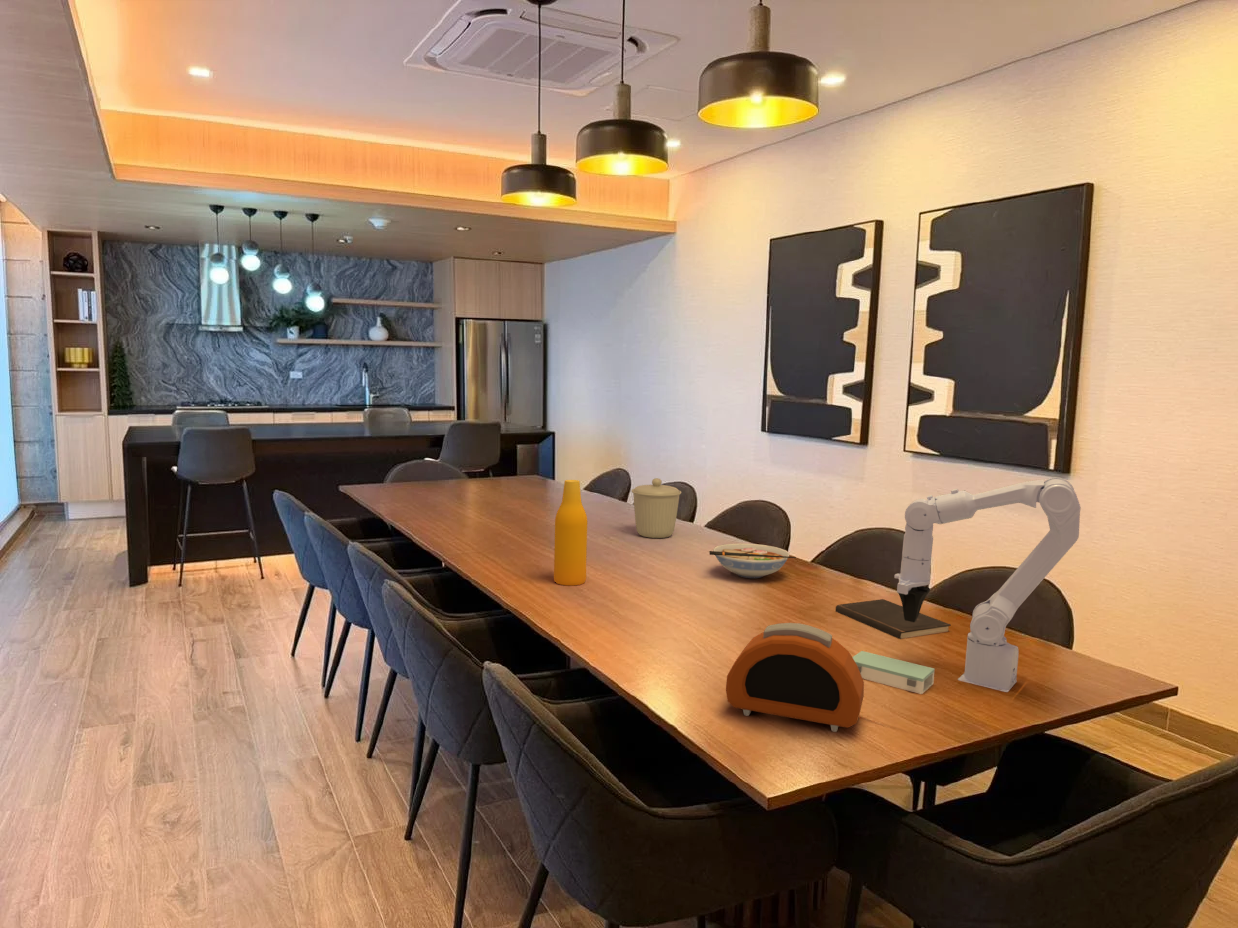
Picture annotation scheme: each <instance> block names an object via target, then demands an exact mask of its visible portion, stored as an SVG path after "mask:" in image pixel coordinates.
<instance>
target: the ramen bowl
mask: <svg viewBox="0 0 1238 928" xmlns="http://www.w3.org/2000/svg"><path fill="white" fill-rule="evenodd" d="M708 553H709V556H715V557H716V559H717V561H718V562H719V564H720V565H721V566H722V567H723V568H725V570H727V571H729V572H732V573H733V574H736V575H737V576H739V577H740V578H744V579H760V578H762V577H765V576H768V575H771V574H773V573H776V572H778V571H780V569H781V568H782V567H784V565H785V564H786V562H787V560H788V559H797V557H796V556H790V554H791V553H790V552H788V551H787V550H786V549H783V548H780V547H776V546H773V545H772V546H771V545H765V544H757V543H743V542H742V543H739V542H737V543H724V544H721V545H720V544H719V545H717V546H715V547H713V548H712V550H710V551H708Z"/></svg>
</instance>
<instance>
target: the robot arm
mask: <svg viewBox="0 0 1238 928" xmlns="http://www.w3.org/2000/svg"><path fill="white" fill-rule="evenodd" d="M950 492H951V493H950ZM950 492H949V493H945V494H942V495H936V496H933V495H932V494H931V495H927V496H926V499H924V498H918V499H915V500H913V501H912V502H911V503H909V504H908V506H907V507H906V509H905V511H904V520H905V522H906V524H905V527H904V530H905V531H904V532H905V533H904V534H903V542H902V553H901V563H900V572H899V573H895V574H894V578H893V579H898V583H897V586H896V593H898V595H899V598H900V601H901V606H902V607H903V614H904V619H905V620H906V621H910V622H915V621H916V620H917V618H918V615H919V613H921V609H922V606H923V603H924V601H925V599H926V598H927V596H928V594H929V593H930V591H931V588H930V587H928V585H930V584H931V566H932V565H931V564H932V554H933V553H932V552H933V544H934V535H933V534H934V533H933V531H934V524H937V525H944V524H949V523H953V522H958V521H964V520H967V519H972V518H973V517H974V516H975V514H976V513H977V512H978V511H981V510H985V509H991V508H992V509H993V508H996V507H1002V506H1008V505H1014V504H1023V505H1025V506H1028V507H1032V508H1035V509H1036V508H1037V503H1039V505H1040V508H1042V511H1043V512H1044V513H1045V515H1046V516H1047V522H1048V526H1049V531H1048V532H1047V533H1046V535H1044V537H1043V538H1042V539H1040V541H1039V542H1038V544H1037V545H1036V546H1035V547H1034V549H1032V551H1030V553H1029V554H1028V555H1027V557H1026V558H1025V559H1024V560H1023V561H1022V562H1021V564H1020V565H1019V566H1018V567H1017V568H1016V569H1015V570H1014V572H1013V573H1012V574H1011V575H1010V576H1009V578H1007V580H1006V581H1005V582H1004V583H1003V584H1002V586H1001V587H1000V588H999V589H998V590H996V592H994V593H993V594H992V595H991V596H990V597H989V598H987V600H986V601H982V602H980V603H978V604H977V605H976V606H975V607H974V609H973V611H972V619H971V621H970V625H969V628H970V632H968V633H967V637H966V639H967V641H966V652H965V664H964V665H965V666H964V673H963V674H962V675H960V677H958V678H957V680H958V681H960V682H964V683H968V684H973V685H976V686H981V687H984V688H988V689H992V690H995V691H1000V692H1004V693H1008V692H1009V691H1010V690H1011V689H1012V687H1014V685H1015V684H1016V683H1017V682H1018V681H1017V677H1018V676H1017V675H1018V667H1019V666H1018V665H1019V653H1020V651H1019V647H1018V646H1017V645H1015V644H1011V643H1009V642H1008V641H1007V637H1006V636H1005V632H1006V628H1007V625H1008V624H1009V623H1010V621H1011V620H1012V619H1013V617H1014V616H1015V614H1016V612H1017V610H1018V609H1019V607H1020V606H1021V605H1022V604H1023V603H1024V602H1025V601H1026V600H1027V598H1028V597H1029V596H1030V595H1031V594H1032V592H1033V591H1034V590H1035V589H1036V588H1037V587H1039V584H1041V582H1042V581H1043V580H1044V579H1045V578H1046V577H1047V576H1048V575H1049V574H1050V572H1051V571H1052V570H1053V569H1054V568H1055V567H1056V565H1058V563H1059V562H1060V561H1061V560H1062V559H1063V557H1064V556H1065V555H1066V554H1067V553H1068V551H1070V549H1071V548H1072V547H1073V546H1074V544H1076V543H1077V541H1078V540H1079V536H1080V518H1081V517H1080V516H1081V509H1082V508H1081V504H1080V501H1079V498H1078V496H1077V492H1076V491H1075V488H1074V487H1073V485H1072V484H1071V483H1070V482H1069V480H1067V479H1064V478H1061V477H1052V478H1048V479H1046V480H1045V479H1036V480H1030V481H1023V482H1019V483H1015V484H1011V485H1007V486H1003V487H999V488H995V489H991V490H987V491H984V492H979V493H975V494H973V493H970V492H968V491H966V490H959V488H954V489H951V490H950Z"/></svg>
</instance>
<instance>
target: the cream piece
mask: <svg viewBox="0 0 1238 928" xmlns="http://www.w3.org/2000/svg"><path fill="white" fill-rule="evenodd" d="M857 666H858V669H859V671H860V674H861V676H862V679H863V680H867V681H871V682H875V683H876V684H877V683H878V684H882V685H885V686H889V687H893V688H897V689H901V690H904V691H907V692H912V693H917V694H919V695H923V694H924V693H926V691H928V689H930V688H931V687H932V686H933V685H934V681H935V671H934V672H933V673H932V674H931V675H930V676H929V677H928V678H927V679H926V680H924V681H923V682H921V681H917V680H913V679H909V678H905V677H901V676H898V675H894V674H890V673H886V672H882V671H878V670H874V669H870V668H866V667H862V666H859V665H857Z"/></svg>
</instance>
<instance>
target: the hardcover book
mask: <svg viewBox="0 0 1238 928" xmlns="http://www.w3.org/2000/svg"><path fill="white" fill-rule="evenodd" d="M835 613H838V614H840V615H843V616H845V617H847V618H850V619H852V620H853V621H857V622H859V623H861V624H864V625H866V626H868V627H871V628H873V629H875V630H877V631H880V632H883V633H884V634H887V635H890V636H891V637H894V638H897V639H898V640H902V639H907V638H908V639H909V638H914V637H915V638H916V637H920V636H921V637H922V636H927V635H934V634H941V633H948V632H949V627H951V624H950V623H947V622H945V621H943V620H940V619H937V618H934V617H931V616H929V615H926V614H924V613H921V612H919V615H918V618H917V620H916V621H915V622H910V621H906V620H905V619H904V614H903V607H902V605H900V604H898V603H895V602H893V601H889V600H887V599H883V598H882V599H874V600H866V601H865V600H864V601H857V602H849V603H841V604H836V606H835Z"/></svg>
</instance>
